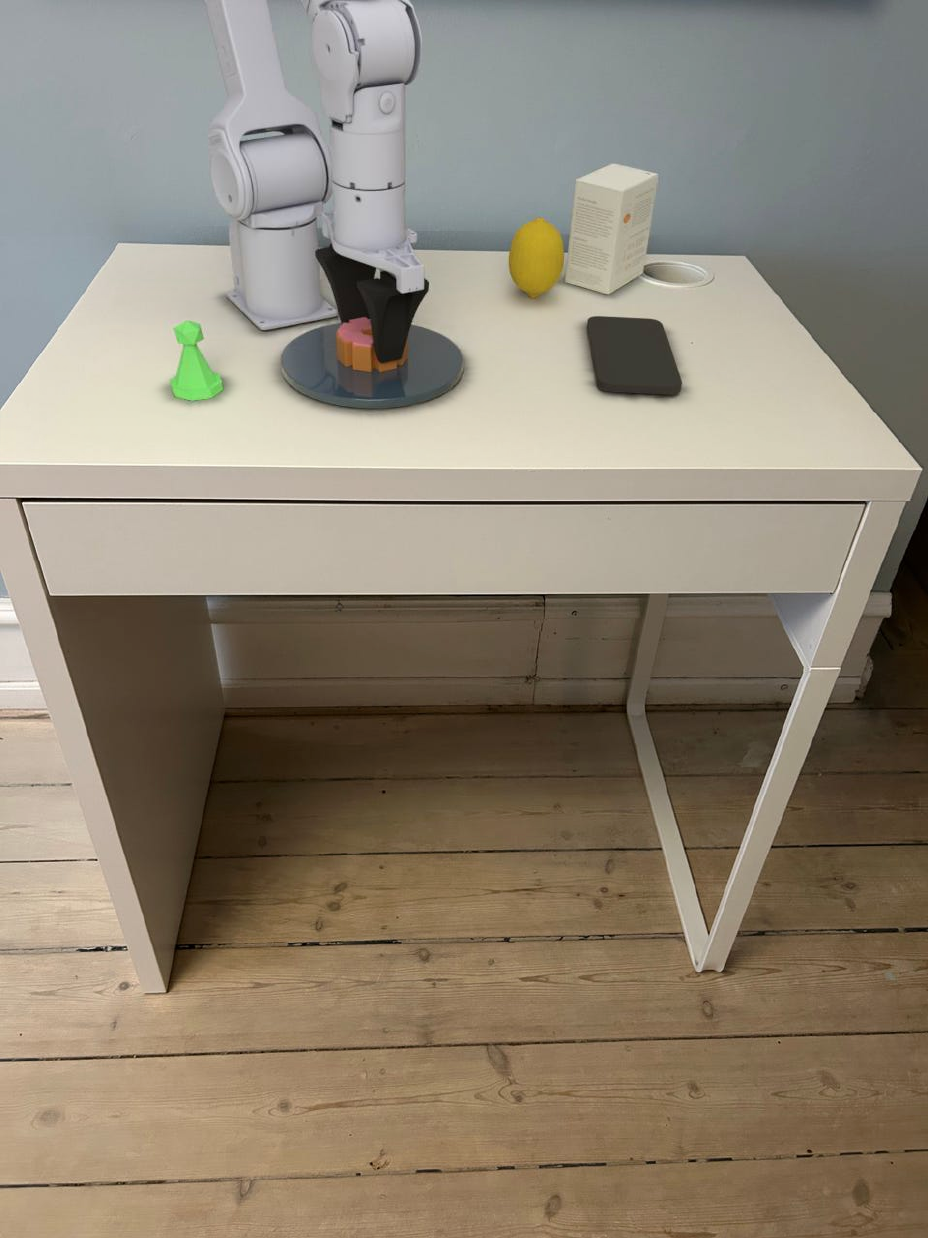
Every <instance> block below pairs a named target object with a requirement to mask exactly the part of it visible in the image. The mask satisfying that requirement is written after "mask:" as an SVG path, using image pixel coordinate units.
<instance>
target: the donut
mask: <svg viewBox="0 0 928 1238" xmlns="http://www.w3.org/2000/svg"><path fill="white" fill-rule="evenodd" d="M336 339H337V356H338V360H339V361H340V362H341V363H342V364H343V365H345V366H346V367H348V366H353V370H359V371H365V372H372V370H373V369H374V368H376V369H377V370H378V371H379V372H383V371H387V370H392V369H396V368H397V365H403V364H404V362H405V361H406V359H407V358H408V337H407V341H406V345H405V349H404V352H403V356H402V359H399V360H395V361H390V362H386V363H380V362H379V361H378V360H377V357H376V354H375V349H374V343H373V335H372V327H371V322H370V320H369V319H367V318H366V317H362V318H357V319H352V320H349V322H348V323H343V324H342V325H341V326H340V328H339V329H338V331H337V332H336Z"/></svg>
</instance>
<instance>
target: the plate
mask: <svg viewBox="0 0 928 1238" xmlns="http://www.w3.org/2000/svg"><path fill="white" fill-rule="evenodd" d="M341 325H342V324H341V322H336V323H330V324H327V325H322V326H320V327H316V328H313V329H310V330H308V331H306V332H304V333H302V334H299V335H298V336H297V337H295V338H294V339H292V340H291V341H290V342H289V343H288V344H287V345H286V346H285V347H284V349H283V351H282V353H281V357H280V366H281V367H280V368H281V373H282V375H283V378H284V379H285V380H286V382H287V383H288V384H289V385H290V386H291V387H292V388H294V389H295V390H296V391H298V392H299V393H301V394H302V395H305V396H307V397H309V398H311V399H314V400H317V401H320V402H323V403H327V404H331V405H336V406H341V407H348V408H354V409H355V408H356V409H357V408H358V409H389V408H399V407H405V406H406V407H407V406H411V405H415V404H420V403H424V402H426V401H429V400H432V399H435V398H437V397H439V396H441V395H443V394H445V393H446V392H448V391H449V390H451V389H453V387H455V386H456V385H457V383H459V381H460V379H461V377H462V376H463V374H464V363H465V362H464V360H465V359H464V355H463V353H462V350H461V349H460V348H459V346H458V345H457V344H456V343H455V342H453V341H452V340H451V339H450V338H448V337H447V336H445V335H443V334H441V333H439V332H437V331H434V330H432V329H430V328H427V327H424V326H420V325H416V324H412V323H411V326H410V330H409V333H408V358H407V359H406V361H405V362H404V364H403V365H397V368H396V369H392V370H387V371H383V372H379V371H378V370H377V369H376V368H374V369H373V370H372V372H365V371H359V370H353V366H348V367H346V366H345V365H343V364H342V363H341V362H340V361H339V360H338V356H337V339H336V332H337V331H338V329H339V328H340V326H341Z"/></svg>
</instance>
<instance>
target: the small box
mask: <svg viewBox="0 0 928 1238" xmlns="http://www.w3.org/2000/svg"><path fill="white" fill-rule="evenodd" d="M659 177H660V175H659V173H656V172H652V171H648V170H644V169H640V168H635V167H631V166H627V165H623V164H618V163H613V162H612V163H610V164H608V165H606V166H603V167H601V168H599V169H597V170H594V171H591V172H590V173H587V174H584V175H583V176H581V177H579V178H576V179H575V181H574V189H573V201H572V209H571V218H570V230H569V237H568V239H569V240H568V247H567V248H568V249H567V257H566V267H565V268H566V269H565V277H564V282H565V283H566V284H570V285H573V286H577V287H581V288H583V289H588V290H591V291H594V292H597V293H600V294H604V295H610V294H612V293H614V292H615V291H617V290H619V289H620V288H621V287H624V286H625V285H626V284H628V283H630V282H632V281H633V280H635V279H637V278H638V277H640V276H641V275H642V274H644V270H645V269H644V268H645V264H646V263H645V262H646V257H647V253H648V245H649V240H650V239H649V238H650V233H651V228H652V227H651V226H652V220H653V213H654V207H655V206H654V205H655V201H656V195H657V189H658V183H659V182H658V181H659Z"/></svg>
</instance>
